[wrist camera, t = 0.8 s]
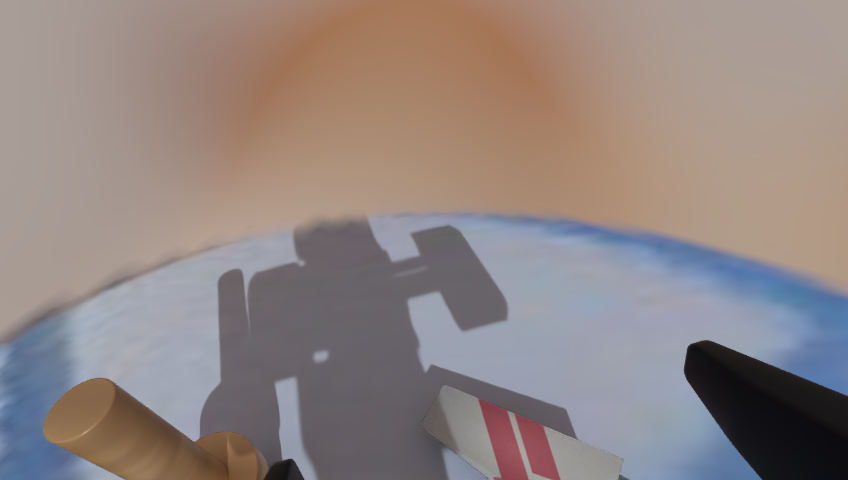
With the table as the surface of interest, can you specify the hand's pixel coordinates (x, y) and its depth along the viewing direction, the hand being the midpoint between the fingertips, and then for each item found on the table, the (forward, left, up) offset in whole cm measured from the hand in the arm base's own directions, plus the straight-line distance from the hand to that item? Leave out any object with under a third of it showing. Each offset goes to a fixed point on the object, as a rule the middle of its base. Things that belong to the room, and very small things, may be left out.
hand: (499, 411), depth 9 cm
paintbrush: (+1, -6, -16) cm, 17 cm away
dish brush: (+2, +13, -16) cm, 21 cm away
